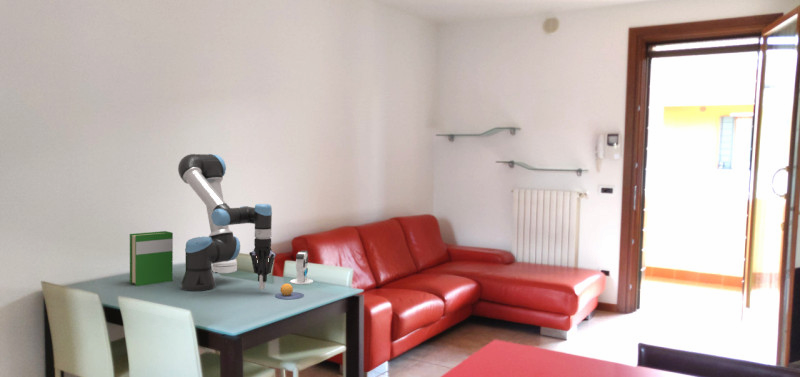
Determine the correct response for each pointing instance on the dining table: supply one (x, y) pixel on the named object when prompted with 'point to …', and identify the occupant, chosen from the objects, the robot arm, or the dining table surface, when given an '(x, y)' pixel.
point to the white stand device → (301, 269)
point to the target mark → (289, 296)
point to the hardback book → (151, 258)
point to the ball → (286, 289)
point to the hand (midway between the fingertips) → (262, 288)
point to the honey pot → (225, 266)
